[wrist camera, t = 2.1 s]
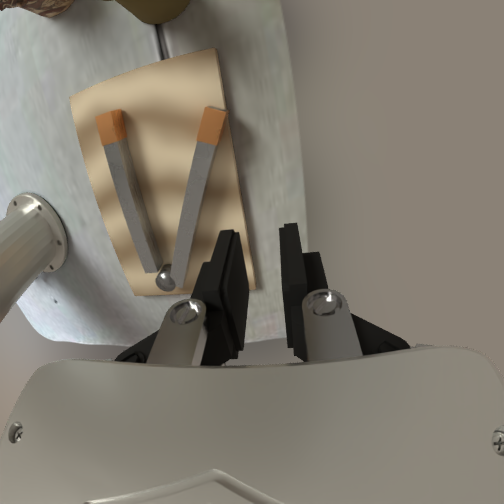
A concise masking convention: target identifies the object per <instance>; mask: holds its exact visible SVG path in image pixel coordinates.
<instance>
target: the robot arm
mask: <svg viewBox="0 0 504 504" xmlns="http://www.w3.org/2000/svg"><path fill="white" fill-rule="evenodd" d="M279 235H280V255H281V278H282V292H283V302H284V313H285V323H286V334H287V344H288V348H294V356H297V357H298V358H300V359H301V360H303V361H304V362H301V363H287V364H269V365H242V366H226V364H225V362H226V361H228V360H229V359H237V358H238V352H239V351H243V348H244V339H245V329H246V319H247V309H248V299H249V281H248V276H247V271H246V265H245V260H244V255H243V249H242V244H241V239H240V234H239V232H235V231H234V229H229V230H220V232H219V235H218V238H217V241H216V245H215V248H214V251H213V254H212V257H211V260H210V261H209V262H203V264H202V266H201V269H200V272H199V275H198V278H197V281H196V284H195V286H194V289H193V292H192V295H191V298H190V299H184V300H181V301H178V302H177V303H175V304H173V305H172V306H171V307H170V308H169V309H168V311H167V312H166V315H165V317H164V320H163V322H162V324H161V327H160V329H159V330H158V331H156V332H155V333H153V334H152V335H150V336H148V337H147V338H145V339H143V340H142V341H140V342H138V343H137V344H135V345H134V346H132V347H130V348H129V349H127V350H125V351H124V352H122V353H121V354H120V355H118V357H117V358H116V359H115V361H113V360H112V359H107V360H92V359H66V360H59V361H55V362H51V363H48V364H46V365H43V366H41V367H40V368H38V369H37V370H36V371H35V372H34V373H33V375H32V376H31V378H30V379H29V381H28V382H27V384H26V386H25V387H24V389H23V391H22V392H21V394H20V396H19V398H18V400H17V402H16V404H15V406H14V408H13V410H12V413H11V414H10V417H9V419H8V422H7V424H6V426H5V429H4V432H3V434H2V437H1V439H0V504H504V377H503V375H502V374H501V372H500V371H499V369H498V368H497V366H496V365H495V363H494V362H493V361H492V360H491V359H490V358H489V357H488V356H486V355H485V354H483V353H482V352H480V351H477V350H474V349H470V348H467V347H458V346H432V345H424V344H416V346H415V347H411V346H409V345H408V343H407V342H406V341H405V340H403V339H402V338H400V337H398V336H396V335H394V334H392V333H390V332H388V331H386V330H383V329H382V328H379V327H378V326H376V325H374V324H372V323H369V322H367V321H366V320H363V319H362V318H359V317H358V316H356V315H354V314H352V313H350V310H349V307H348V303H347V300H346V299H345V297H344V296H343V295H342V294H340V293H339V292H337V291H335V290H330V289H328V285H327V281H326V277H325V273H324V269H323V265H322V261H321V257H320V253H319V252H310V253H302V248H301V242H300V236H299V231H298V225H297V223H289V224H284V227H283V228H279ZM67 251H68V245H67V238H66V234H65V231H64V228H63V225H62V223H61V221H60V219H59V217H58V216H57V214H56V213H55V211H54V210H53V209H52V207H51V206H50V205H49V204H48V203H47V202H46V201H45V200H44V199H42V198H41V197H39V196H38V195H35V194H33V193H28V192H26V193H21V194H19V195H17V196H16V197H14V198H13V199H12V200H11V202H10V203H9V206H8V208H7V214H6V217H5V218H3V219H2V220H1V221H0V323H1V321H2V320H3V319H4V317H5V316H6V315H7V313H8V312H9V310H10V309H11V308H12V307H13V306H14V304H15V303H16V302H17V301H18V299H19V298H20V297H21V296H22V294H23V293H24V292H25V291H26V290H27V288H28V287H29V286H30V285H31V284H32V283H33V281H34V280H35V279H36V278H37V277H38V276H39V275H40V273H41V272H42V271H43V272H54V271H56V270H58V269H59V268H60V267H61V266H62V265H63V263H64V262H65V260H66V257H67Z"/></svg>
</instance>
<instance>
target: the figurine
mask: <svg viewBox="0 0 504 504" xmlns="http://www.w3.org/2000/svg"><path fill="white" fill-rule="evenodd" d="M73 1H74V0H0V10H1V11H2V10H4V9H5V8H14V7H20V8H23V9H26V10H28V11H31V12H33V13H36V14H38V15H40V16H44V17H48V18H51V17H53V16H55V15H58V14H59V13H62V12H63V11H65V10H66V9H68V8H69V7H70V5H71V4H72V3H73Z"/></svg>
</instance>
